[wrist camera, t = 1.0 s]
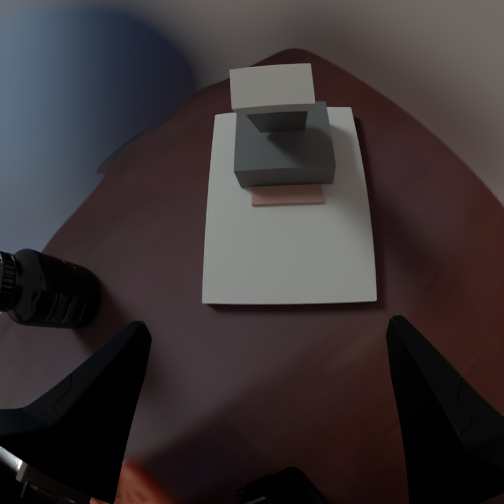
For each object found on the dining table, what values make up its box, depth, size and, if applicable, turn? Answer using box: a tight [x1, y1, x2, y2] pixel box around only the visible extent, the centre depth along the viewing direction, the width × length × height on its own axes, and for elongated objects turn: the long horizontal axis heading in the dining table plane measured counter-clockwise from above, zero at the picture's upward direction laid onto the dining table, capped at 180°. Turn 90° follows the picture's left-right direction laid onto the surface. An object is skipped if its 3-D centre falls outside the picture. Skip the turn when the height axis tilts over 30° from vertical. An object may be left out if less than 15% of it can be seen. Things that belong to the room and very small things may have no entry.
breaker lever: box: [230, 64, 315, 133], centre depth 17 cm, size 2×4×10 cm, turn 89°
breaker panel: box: [202, 102, 377, 305], centre depth 23 cm, size 19×14×4 cm
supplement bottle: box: [0, 249, 100, 329], centre depth 21 cm, size 7×7×12 cm
